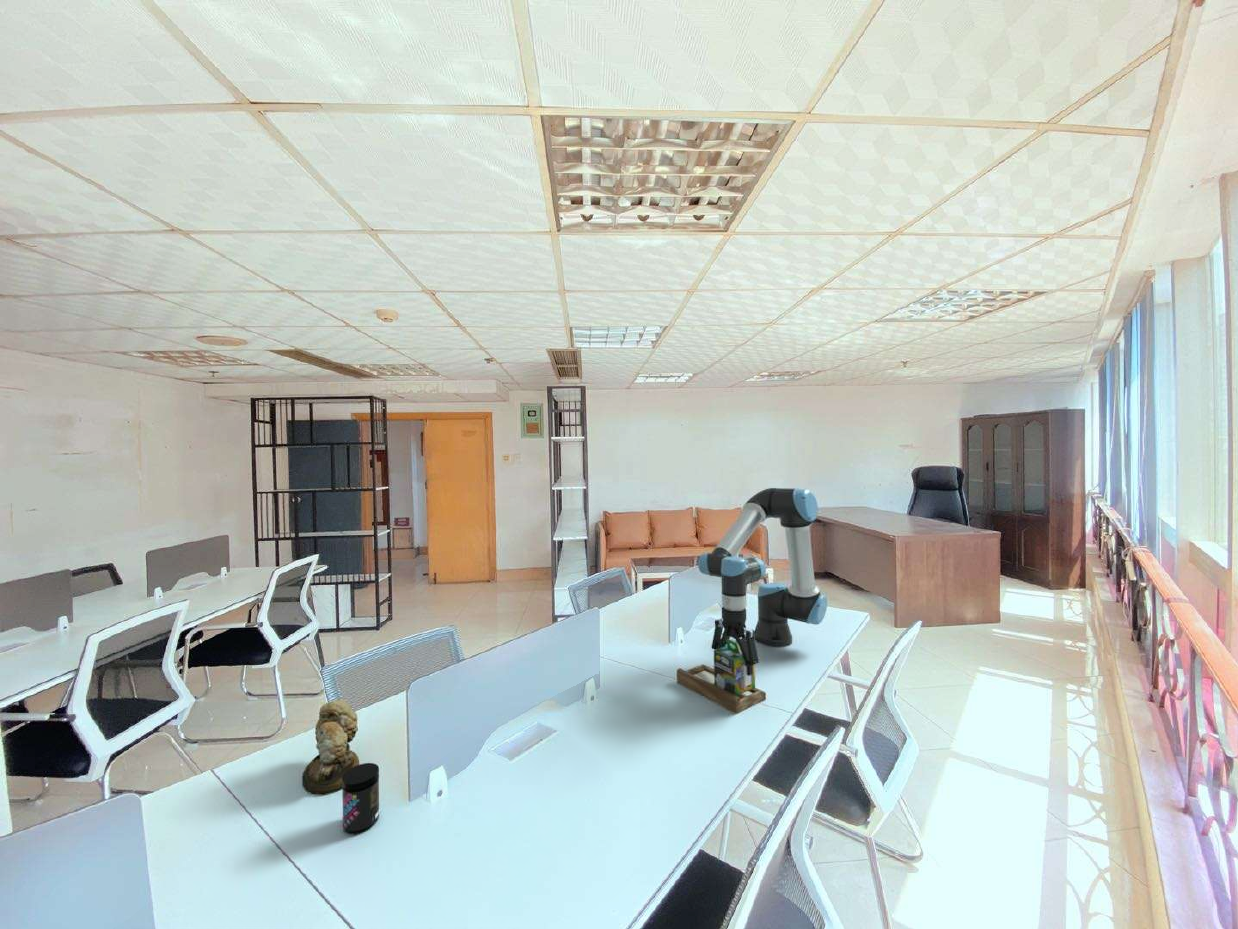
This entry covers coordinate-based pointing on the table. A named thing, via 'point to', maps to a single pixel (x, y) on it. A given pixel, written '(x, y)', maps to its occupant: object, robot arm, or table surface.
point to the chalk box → (731, 669)
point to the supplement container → (360, 798)
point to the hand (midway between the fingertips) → (734, 679)
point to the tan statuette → (332, 748)
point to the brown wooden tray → (717, 689)
